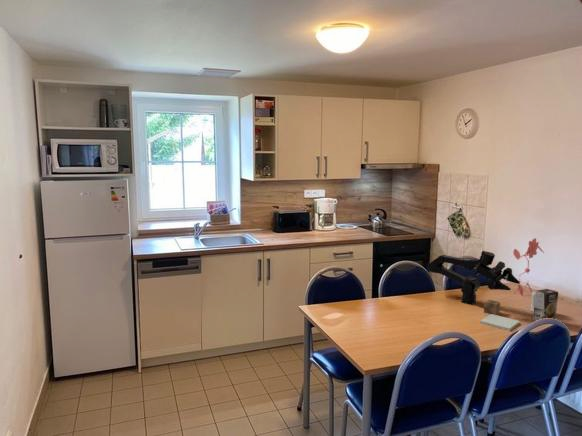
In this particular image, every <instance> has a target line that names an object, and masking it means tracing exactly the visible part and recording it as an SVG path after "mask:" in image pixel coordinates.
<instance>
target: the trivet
mask: <svg viewBox="0 0 582 436" xmlns="http://www.w3.org/2000/svg"><path fill="white" fill-rule="evenodd" d="M520 322H521V321H520V320H517V319H513V318H509V317H504V316H500V315H498V314H497V315H493V314H488V315H487V316H486V317H484V318H482V319H481V320H480V324H482V325H486V326H489V327H490V326H491V327H492V328H497V329H501V330H504V331H508V332H510V331H512V330H513V329H514V328H515V327H517V326H518V325H519V324H520Z"/></svg>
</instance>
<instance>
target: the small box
mask: <svg viewBox="0 0 582 436" xmlns="http://www.w3.org/2000/svg"><path fill="white" fill-rule="evenodd" d="M535 293H536V291H532V293H531V303H530V304H531V306H530V311H531V312H532V313H534V303H535Z"/></svg>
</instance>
